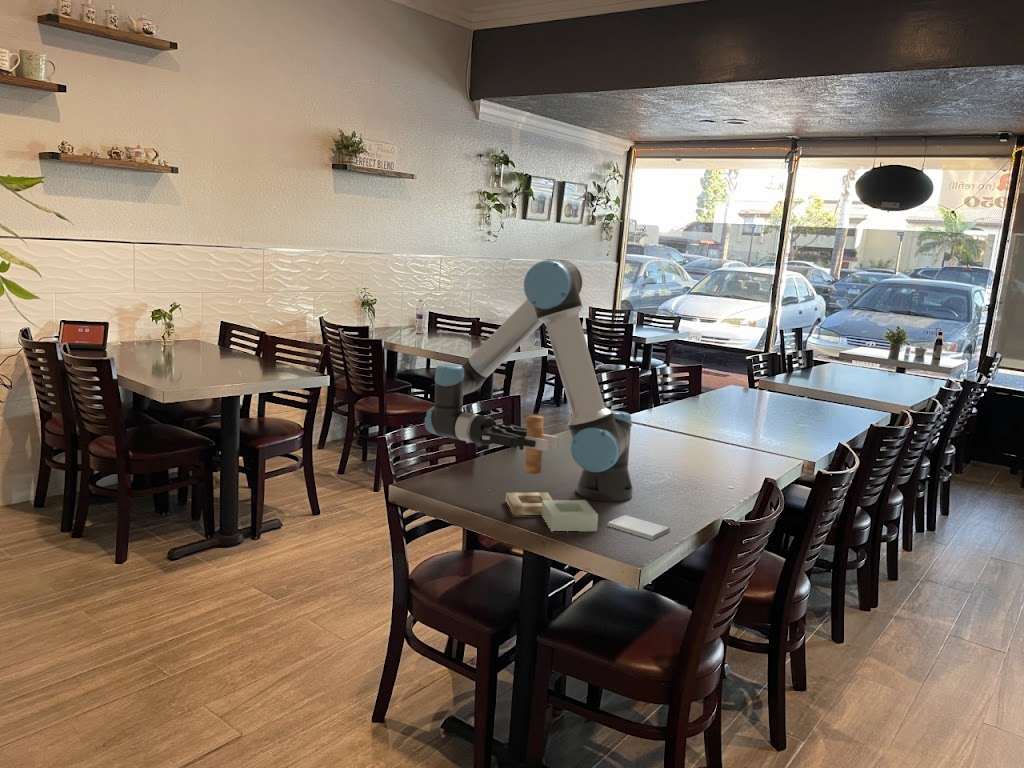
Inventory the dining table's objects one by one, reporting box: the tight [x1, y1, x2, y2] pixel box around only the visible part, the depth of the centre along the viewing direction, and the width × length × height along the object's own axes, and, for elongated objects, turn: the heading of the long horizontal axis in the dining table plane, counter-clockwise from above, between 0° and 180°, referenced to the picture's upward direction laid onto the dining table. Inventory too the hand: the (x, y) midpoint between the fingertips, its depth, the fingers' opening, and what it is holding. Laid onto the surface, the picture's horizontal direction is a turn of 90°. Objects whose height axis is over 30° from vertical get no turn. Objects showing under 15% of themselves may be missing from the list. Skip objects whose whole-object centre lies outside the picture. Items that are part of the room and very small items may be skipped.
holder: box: [505, 491, 554, 516], centre depth 198 cm, size 11×11×2 cm
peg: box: [524, 414, 545, 475], centre depth 195 cm, size 4×4×14 cm
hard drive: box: [607, 514, 671, 541], centre depth 187 cm, size 2×8×12 cm
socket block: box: [541, 499, 599, 533], centre depth 188 cm, size 11×11×4 cm
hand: (552, 444), depth 192 cm, fingers closed on peg, 4 cm apart
